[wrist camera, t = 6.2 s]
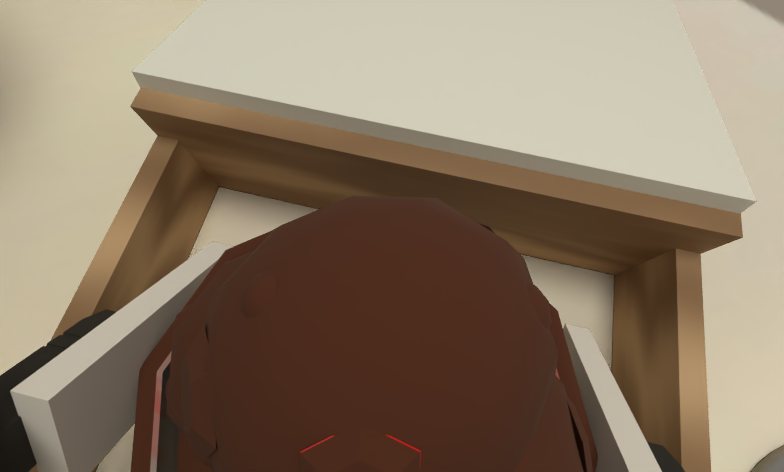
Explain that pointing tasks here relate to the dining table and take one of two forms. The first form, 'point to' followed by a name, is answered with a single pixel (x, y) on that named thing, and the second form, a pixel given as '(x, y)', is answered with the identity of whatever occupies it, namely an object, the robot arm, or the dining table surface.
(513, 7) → the lid
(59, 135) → the dining table surface
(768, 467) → the coaster
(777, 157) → the dining table surface
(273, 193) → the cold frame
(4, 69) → the dining table surface
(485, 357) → the ice cream bowl
